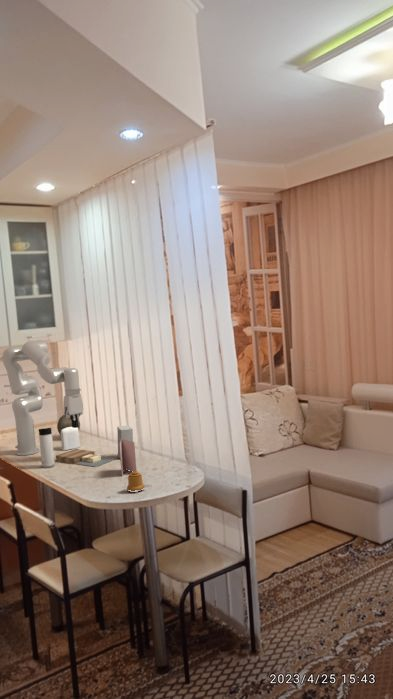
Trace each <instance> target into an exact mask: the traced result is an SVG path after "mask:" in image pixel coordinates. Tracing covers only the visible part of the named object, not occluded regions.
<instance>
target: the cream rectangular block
mask: <svg viewBox="0 0 393 699" xmlns="http://www.w3.org/2000/svg"><path fill="white" fill-rule="evenodd" d="M101 457H102V456H101V455H97V454H95V455H91V454H89V455H86V456H83V457H82V461H84V462H91V463H94V462H97V461H100V460H101Z"/></svg>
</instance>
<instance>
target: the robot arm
mask: <svg viewBox="0 0 393 699" xmlns="http://www.w3.org/2000/svg"><path fill="white" fill-rule="evenodd" d="M48 352H49V346H48V344H47V343H46V341H44V340H41V339H39V340H32V341H27V342H25V343H24V344H23V345H21V344H20V345H13V346H9V347H7V348H5V349H4V350H3V352H2V356H1V359H2V363H3V365H4V368H5V371H6V374H7V377H8V382H9V386H10V390H11V392H12V395H15V396H20V395H23V396H20V397H17V398H15V399H13V401H12V404H11V408H12V411H13V416H14V420H15V430H16V439H17V444H16V445H15V447H14V448H15V449H17V450H16V451H15V455H17V456H29V455H34V454H38V453H39V452H40V448H37V447H36V446H37V445H36V433H35V424H34V419H33V417H32V416H31V414H30V413H33V412H36V411H40V410H41V409H42V408H43V406H44V404H43V403H44V400H43V397H42V392H41V388H40V383H39V381H38V379H37V378H36V377H35V376H33V375H26V376H25V374H24V369H23V367H22V366H21V365H20V363H18V362H21V361H27V360H28V361H29V360H30V361H31V362H32V363H33V364H35V366H36V367H37V368H36V370H37V374H38V375H39V377H40V378H41V379H42V380H44V381H45V382H46V383H48V384H50V385H54V384H60V383H63V386H64V396H63V401H62V404H63V406H62V407H63V408H62V410H63V412H62V413H63V415H66V418H70V420H72V427H73V428H77V427H79V426H78V419H80V416H81V415H83V414H84V403H83V398H82V393H81V391H82V389H81V388H80V378H79V377H80V376H79V375H80V374H79V370H78V368H75V367H71V368H69V367H59V368H53V369H52V368H49V367H48V365H49V363H50V361H51V356H50V354H49V353H48ZM25 394H27V395H25Z"/></svg>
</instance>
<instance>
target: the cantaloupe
mask: <svg viewBox="0 0 393 699" xmlns="http://www.w3.org/2000/svg"><path fill="white" fill-rule="evenodd" d="M79 419H80V418H79ZM79 419H78V426H79V427H77V428H78V430H79V431H80V428H81V423H80V420H79ZM56 427H57V432H58V434H59V435H60V436H61V430H62V429H64V428H67V427H72V420H70V418H66V415H64V414H63V415H62V416H60V418H59V419H58V421H57V425H56Z"/></svg>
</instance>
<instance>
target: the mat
mask: <svg viewBox="0 0 393 699" xmlns="http://www.w3.org/2000/svg"><path fill="white" fill-rule="evenodd" d="M115 460H116V459H115V458H111V457H104V456H103V457H102V456H101V460H100V461H97V462H94V463H91V462H84V461H81V462H78V463H75V464H74V465H79V466H86V467H90V468H91V467H92V468H96V467H100V466H101V465H104V464H107V463H110V462H113V461H115Z"/></svg>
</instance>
